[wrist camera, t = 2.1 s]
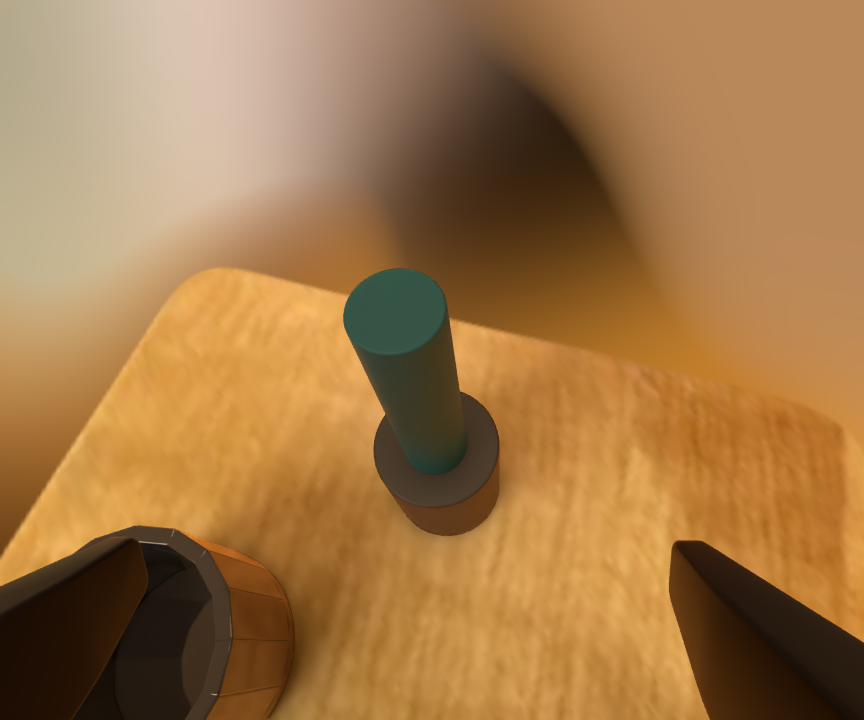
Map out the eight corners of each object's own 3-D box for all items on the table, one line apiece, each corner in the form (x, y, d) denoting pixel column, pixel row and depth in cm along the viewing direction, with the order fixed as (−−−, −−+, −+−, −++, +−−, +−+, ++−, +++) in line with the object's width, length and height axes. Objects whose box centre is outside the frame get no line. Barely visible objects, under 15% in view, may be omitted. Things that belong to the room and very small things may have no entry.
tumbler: (309, 729, 17) (243, 758, 13) (110, 798, 17) (-29, 852, 12) (280, 529, 20) (220, 497, 16) (113, 584, 20) (5, 566, 15)
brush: (514, 516, 19) (534, 364, 9) (412, 550, 19) (309, 435, 9) (479, 421, 21) (461, 206, 11) (386, 452, 21) (277, 262, 11)
